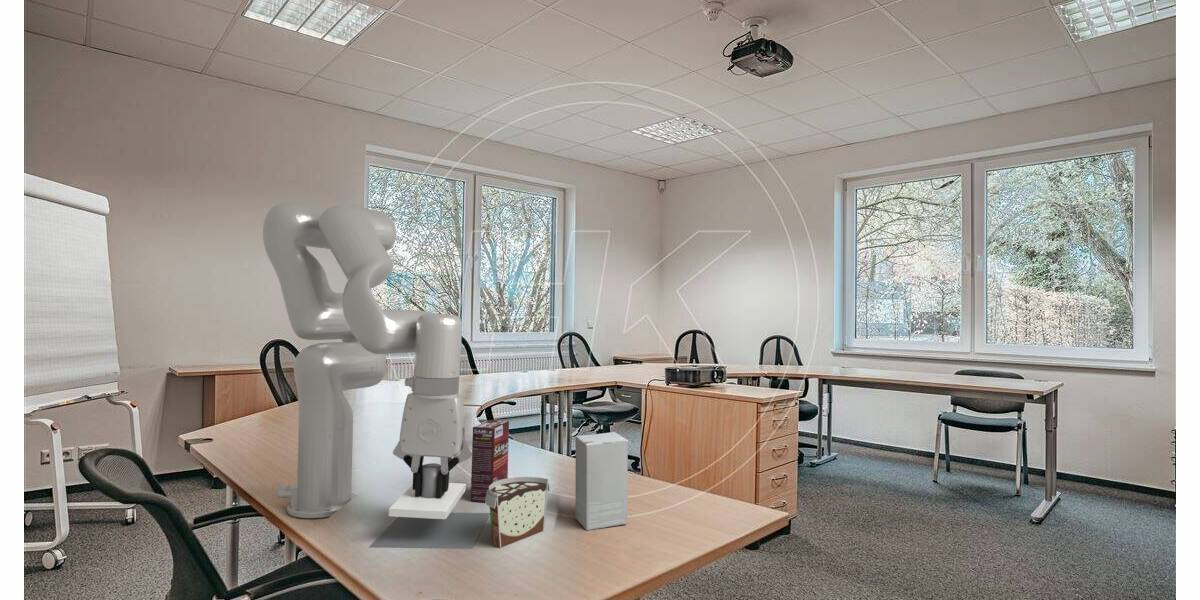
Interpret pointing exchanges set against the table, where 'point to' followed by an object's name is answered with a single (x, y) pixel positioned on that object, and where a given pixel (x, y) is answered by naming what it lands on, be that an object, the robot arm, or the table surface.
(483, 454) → the supplement box
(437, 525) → the mat
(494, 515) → the food container
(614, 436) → the skincare box
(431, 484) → the lid
